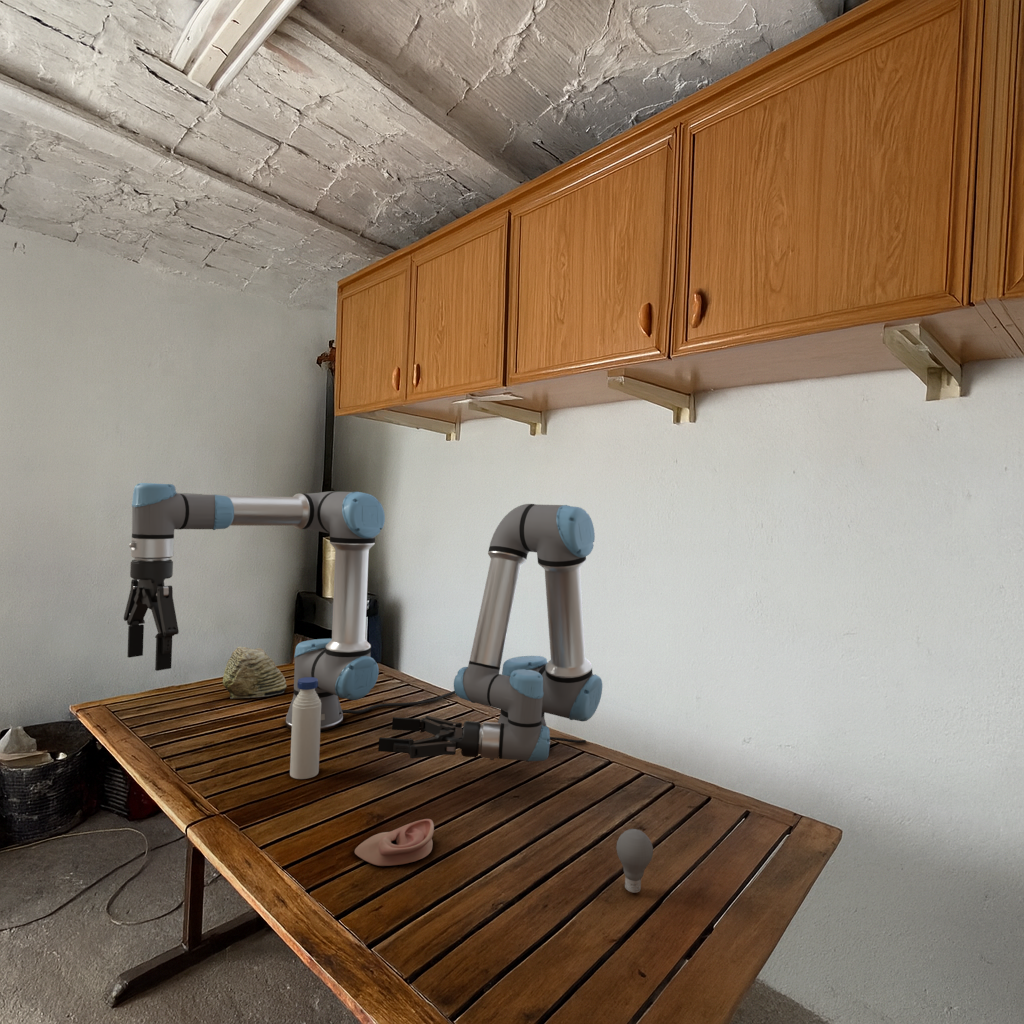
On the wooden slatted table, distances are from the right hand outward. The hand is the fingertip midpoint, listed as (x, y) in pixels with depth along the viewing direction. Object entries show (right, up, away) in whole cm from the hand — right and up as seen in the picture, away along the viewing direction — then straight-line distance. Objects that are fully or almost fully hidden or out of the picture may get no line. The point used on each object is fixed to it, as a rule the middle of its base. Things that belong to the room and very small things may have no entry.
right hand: (385, 733), depth 142 cm
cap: (-18, +11, +2) cm, 21 cm away
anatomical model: (+7, -12, -27) cm, 31 cm away
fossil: (-52, -8, +56) cm, 77 cm away
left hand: (-46, +19, -13) cm, 51 cm away
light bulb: (+48, -14, -36) cm, 62 cm away
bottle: (-19, -10, +3) cm, 22 cm away
